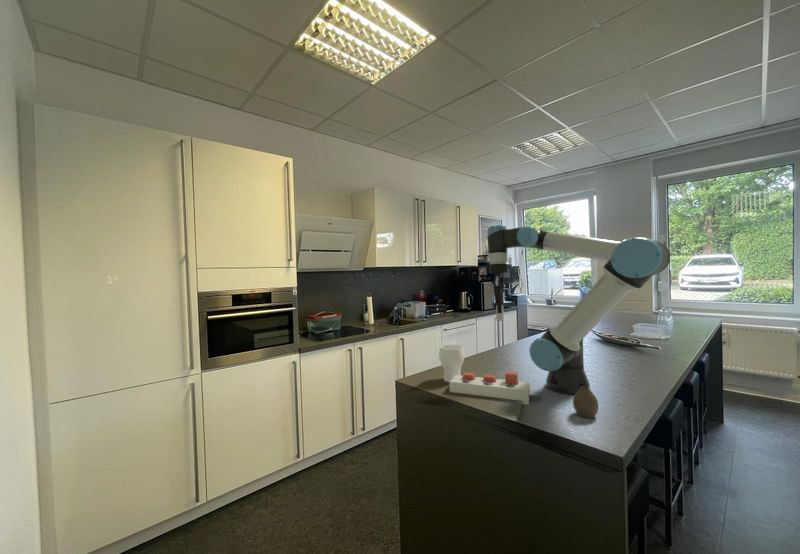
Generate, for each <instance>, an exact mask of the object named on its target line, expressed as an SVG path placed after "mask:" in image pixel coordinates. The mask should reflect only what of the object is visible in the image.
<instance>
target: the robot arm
mask: <svg viewBox="0 0 800 554" xmlns="http://www.w3.org/2000/svg"><path fill="white" fill-rule="evenodd" d="M486 237H487V238H486V239H487V249H488V252H487V253H488V255H487V256H486V258H487V259H488V274H494V277H492V278H493V279H492V282H493V290H494V303H493V305H494V306H495V313H496V314H495V315H496V316H495V317H496V322H504V320H505V316H504V305H506V303H505V302H504V301H505V300H504V287H505V285H504V282H505V277H503V274H506V273H508V272H509V269H508V268H509V265H508V261H509V260H508V249H510V248H530V249H536V250H537V249H538V250H543V251H549V252H554V253H560V254H564V255H569V256H575V257H579V258H586V259H590V260H597V261H600V262H605V264H604V265H603V275H602V276H601V277H599V279H598V280H597V281H596V282H595V283H594V284H593V285H592V286H591V288H590V289H589V290H588V291H587V292H586V293H585V294H584V296H582V298H581V299H580V300H579V301H578V302H577V303H576V305H574V307H572V309H571V310H570V311H569V312H568V313H567V315H565V317H563V319H562V320H561V321H560V323H558V325H551V326H550V327H549V328H547V330H546V331H545V332H544V333H543V334H542V336H541V337H540V338H536V339H535V340H534V341H533V342H532V343H530V346H529V356H530V359H531V360H532V362H533V364H534V365H535V366H536V367H538V368H539V369H540V370H543V371H545V372H548V373H547V376H546V381H545V382H546V383H545V384H546V388H548V389H549V390H552V391H554V392H557V393H561V394H568V395H575V394H576V393H577V392H578V391H579V389H580V387H581V386H586V387H589V389H590V390H591V385H590V381H589V379H588V376H587V374H586V371H585V365H584V364H585V363H584V338H586V336H587V335H588V334H589V333H590V332H591V331H592V330H593V329H594V328H595V327H596V326H597V325H598V324H599V323H600V322H601V321H602V320H603V319H604V318H605V317H606V316H607V315H608V314H609V313H610V312H611V311H612V310H613V309H614V307H616V306H617V305H618V304H619V302H620V301H622V300H623V299H624V298H625V296H626V295H627V294H628V293H629V292H630V291H633V290H637V291H638V290H640V289H642V287H643V286H644V285H645V284H646V283H647V282H648V281H649V280H650V279H651V278H652V277H653V276H654V275H658V274H660V273H662V272H663V271H665V269H666V268H667V267H668V265H669V263H670V261H671V254H670V251H669V248H668V246H666V245H665V244H663V243H662V242H660V241H658V240H655V239H651V238H649V237H645V236H644V237H642V236H637V237H636V236H635V237H631V238H627V239H624V240H622V241H615V240H609V239H602V238H596V237H588V236H581V235H575V234H568V233H563V232H562V233H561V232H554V231H547V230H541V229H536V227H535V226H534V225H528V226H526V225H525V226H520V227H513V228H508V229H507V225H503V224H497V225H491V226H489V227H488V228H487V236H486Z"/></svg>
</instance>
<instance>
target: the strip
mask: <svg viewBox="0 0 800 554" xmlns="http://www.w3.org/2000/svg"><path fill="white" fill-rule="evenodd" d="M448 383H449V393H457V394H462V395H463V394H464V395H472V396H473V395H474V396H480V397H481V396H482V397H489V398H497V399H505V400H506V399H507V400H513V401H521V404H522V405H530V400H539V401H542V396H540V395H535V394H534V395H533V394H531V389H530V388H531V387H530V385H531V384H530V382H529V381H523V380H522V381H520V380H518V383H517V385H516V384H507V383H506V380H505V379H501V378H496V382H495V383H494V382H485V381H484V377H479V376H475V379H474V380H465V379H463V375H461V374H460V375H455V376H454V377H453V378H452V380H451V381H450V382H448Z"/></svg>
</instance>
